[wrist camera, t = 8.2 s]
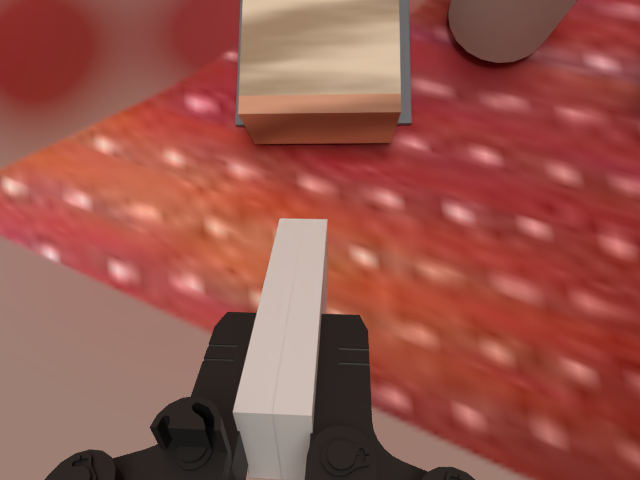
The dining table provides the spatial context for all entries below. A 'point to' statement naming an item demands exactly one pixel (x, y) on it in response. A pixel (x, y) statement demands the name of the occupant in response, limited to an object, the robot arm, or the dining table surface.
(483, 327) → the dining table surface
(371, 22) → the birch block
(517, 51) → the can
